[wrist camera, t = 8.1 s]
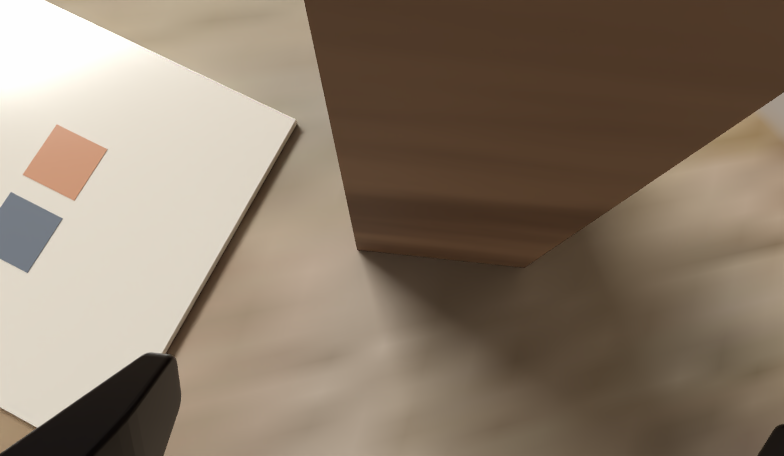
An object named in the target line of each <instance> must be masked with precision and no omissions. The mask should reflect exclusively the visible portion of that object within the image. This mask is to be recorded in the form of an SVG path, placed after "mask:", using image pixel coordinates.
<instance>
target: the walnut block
mask: <svg viewBox="0 0 784 456" xmlns="http://www.w3.org/2000/svg"><path fill="white" fill-rule="evenodd" d="M304 2H305V7H306V12H307V16H308V21H309V26H310V30H311V35H312V40H313V44H314V49H315V54H316V59H317V63H318V68H319V73H320V77H321V82H322V87H323V91H324V96H325V101H326V106H327V110H328V115H329V120H330V124H331V129H332V134H333V138H334V143H335V148H336V152H337V157H338V162H339V167H340V171H341V176H342V181H343V185H344V190H345V195H346V199H347V204H348V209H349V214H350V218H351V223H352V228H353V232H354V237H355V242H356V246H357V250H365V251H374V252H383V253H393V254H402V255H411V256H420V257H430V258H439V259H448V260H458V261H467V262H476V263H485V264H495V265H504V266H513V267H523V268H525V267H526V266H528V265H529V264H531V263H532V262H533V261H535V260H536V259H538V258H539V257H541V256H542V255H544V254H545V253H547V252H548V251H550V250H551V249H553V248H554V247H556V246H557V245H559V244H560V243H562V242H563V241H565V240H566V239H568V238H569V237H570V236H572V235H573V234H575V233H576V232H578V231H579V230H581V229H582V228H584V227H585V226H587V225H588V224H590V223H591V222H593V221H594V220H596V219H597V218H599V217H600V216H602V215H603V214H604V213H606V212H607V211H609V210H610V209H612V208H613V207H615V206H616V205H618V204H619V203H621V202H622V201H624V200H625V199H627V198H628V197H630V196H631V195H633V194H634V193H636V192H637V191H638V190H640V189H641V188H643V187H644V186H646V185H647V184H649V183H650V182H652V181H653V180H655V179H656V178H658V177H659V176H661V175H662V174H664V173H665V172H667V171H668V170H670V169H671V168H673V167H674V166H675V165H677V164H678V163H680V162H681V161H683V160H684V159H686V158H687V157H689V156H690V155H692V154H693V153H695V152H696V151H698V150H699V149H701V148H702V147H704V146H705V145H707V144H708V143H709V142H711V141H712V140H714V139H715V138H717V137H718V136H720V135H721V134H723V133H724V132H726V131H727V130H729V129H730V128H732V127H733V126H735V125H736V124H738V123H739V122H741V121H742V120H743V119H745V118H746V117H748V116H749V115H751V114H752V113H754V112H755V111H757V110H758V109H760V108H761V107H763V106H764V105H766V104H767V103H769V102H770V101H772V100H773V99H775V98H776V97H777V96H779V95H780V94H782V93H783V92H784V0H304Z"/></svg>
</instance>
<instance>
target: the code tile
mask: <svg viewBox="0 0 784 456" xmlns="http://www.w3.org/2000/svg"><path fill="white" fill-rule="evenodd" d="M296 125H297V121H296V119H294V118H292V117H290V116H288V115H286V114H283V113H281V112H279V111H277V110H275V109H273V108H271V107H269V106H266V105H264V104H262V103H260V102H258V101H256V100H254V99H252V98H250V97H247V96H245V95H243V94H241V93H239V92H237V91H235V90H233V89H231V88H228V87H226V86H224V85H222V84H220V83H218V82H216V81H214V80H212V79H209V78H207V77H205V76H203V75H201V74H199V73H197V72H195V71H192V70H190V69H188V68H186V67H184V66H182V65H180V64H178V63H176V62H173V61H171V60H169V59H167V58H165V57H163V56H161V55H159V54H157V53H154V52H152V51H150V50H148V49H146V48H144V47H142V46H140V45H137V44H135V43H133V42H131V41H129V40H127V39H125V38H123V37H121V36H118V35H116V34H114V33H112V32H110V31H108V30H106V29H104V28H102V27H99V26H97V25H95V24H93V23H91V22H89V21H87V20H85V19H82V18H80V17H78V16H76V15H74V14H72V13H70V12H68V11H66V10H63V9H61V8H59V7H57V6H55V5H53V4H51V3H49V2H47V1H44V0H0V408H2V409H4V410H6V411H8V412H10V413H11V414H13V415H15V416H17V417H19V418H21V419H22V420H24V421H26V422H28V423H30V424H32V425H33V426H35V427H37V428H38V427H39V426H41V425H42V424H43V423H45V422H46V421H48V420H49V419H51V418H52V417H54V416H55V415H56V414H58V413H59V412H61V411H62V410H64V409H65V408H67V407H68V406H69V405H71V404H72V403H74V402H75V401H77V400H78V399H79V398H81V397H82V396H84V395H85V394H87V393H88V392H90V391H91V390H92V389H94V388H95V387H97V386H98V385H100V384H101V383H103V382H104V381H105V380H107V379H108V378H110V377H111V376H113V375H114V374H115V373H117V372H118V371H120V370H121V369H123V368H124V367H126V366H127V365H128V364H130V363H131V362H133V361H134V360H136V359H137V358H139V357H140V356H141V355H143V354H145V353H149V352H153V353H162V354H166V352H167V350H168V348H169V347H170V345H171V343H172V341H173V340H174V338H175V336H176V334H177V333H178V331H179V329H180V327H181V326H182V324H183V322H184V320H185V319H186V317H187V315H188V313H189V312H190V310H191V308H192V306H193V305H194V303H195V301H196V299H197V298H198V296H199V294H200V292H201V291H202V289H203V287H204V285H205V284H206V282H207V280H208V278H209V277H210V275H211V273H212V271H213V270H214V268H215V266H216V264H217V263H218V261H219V259H220V257H221V256H222V254H223V252H224V250H225V249H226V247H227V245H228V243H229V242H230V240H231V238H232V236H233V235H234V233H235V231H236V230H237V228H238V226H239V224H240V223H241V221H242V219H243V217H244V216H245V214H246V212H247V210H248V209H249V207H250V205H251V203H252V202H253V200H254V198H255V196H256V195H257V193H258V191H259V189H260V188H261V186H262V184H263V182H264V181H265V179H266V177H267V175H268V174H269V172H270V170H271V168H272V167H273V165H274V163H275V161H276V160H277V158H278V156H279V154H280V153H281V151H282V149H283V147H284V146H285V144H286V142H287V140H288V139H289V137H290V135H291V133H292V132H293V130H294V128H295V126H296Z"/></svg>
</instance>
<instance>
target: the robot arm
mask: <svg viewBox="0 0 784 456" xmlns="http://www.w3.org/2000/svg"><path fill="white" fill-rule="evenodd" d="M180 402H181V389H180V381H179V374H178V366H177V361H176V358H175V357H174V356H173V355H171V354H162V353H153V352H149V353H145V354H143V355H141V356H140V357H139V358H137V359H136V360H134V361H133V362H131V363H130V364H128V365H127V366H126V367H124V368H123V369H121V370H120V371H118V372H117V373H115V374H114V375H113V376H111V377H110V378H108V379H107V380H105V381H104V382H103V383H101V384H100V385H98V386H97V387H95V388H94V389H92V390H91V391H90V392H88V393H87V394H85V395H84V396H82V397H81V398H79V399H78V400H77V401H75V402H74V403H72V404H71V405H69V406H68V407H67V408H65V409H64V410H62V411H61V412H59V413H58V414H56V415H55V416H54V417H52V418H51V419H49V420H48V421H46V422H45V423H43V424H42V425H41V426H39V427H38V428H36V429H35V430H33V431H32V432H31V433H29V434H28V435H26V436H25V437H23V438H22V439H20V440H19V441H18V442H16V443H15V444H13V445H12V446H10V447H9V448H8V449H6V450H5V451H3V452H2V453H0V456H163V455H164V452H165V449H166V446H167V443H168V440H169V438H170V435H171V432H172V429H173V426H174V423H175V420H176V417H177V414H178V411H179V407H180ZM758 456H784V424H781V425H779V426H777V427H776V428H775V429H774V430H773V432H772V433H771V435H770V437H769V438H768V440H767V441H766V443H765V445H764V446H763V448H762V449H761V451H760V452H759V454H758Z"/></svg>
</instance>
